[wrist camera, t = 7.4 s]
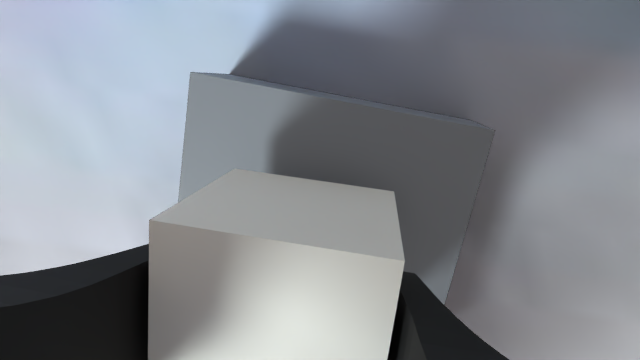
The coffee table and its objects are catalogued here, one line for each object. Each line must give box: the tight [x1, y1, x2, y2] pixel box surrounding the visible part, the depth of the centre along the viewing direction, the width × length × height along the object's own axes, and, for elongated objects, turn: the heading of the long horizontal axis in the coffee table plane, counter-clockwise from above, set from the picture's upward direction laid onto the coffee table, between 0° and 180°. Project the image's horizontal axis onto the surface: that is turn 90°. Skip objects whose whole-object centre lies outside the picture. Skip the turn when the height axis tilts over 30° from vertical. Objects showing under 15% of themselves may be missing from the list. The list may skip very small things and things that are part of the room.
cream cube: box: [148, 169, 405, 360], centre depth 11 cm, size 5×5×5 cm
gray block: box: [178, 72, 495, 305], centre depth 16 cm, size 10×10×4 cm
